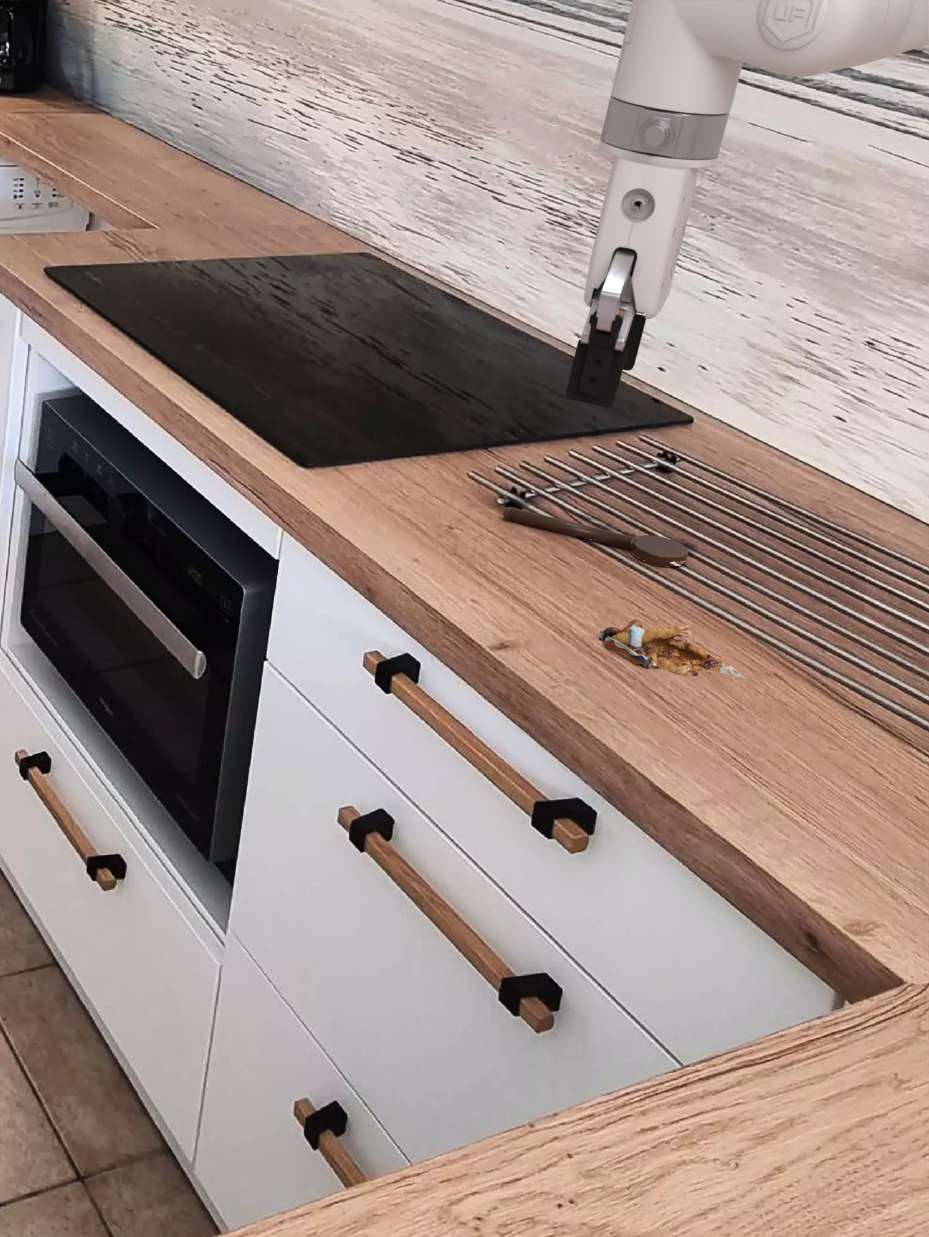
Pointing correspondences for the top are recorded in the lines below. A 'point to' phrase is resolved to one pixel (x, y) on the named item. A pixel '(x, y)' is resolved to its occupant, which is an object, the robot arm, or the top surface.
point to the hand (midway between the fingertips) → (599, 383)
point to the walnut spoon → (606, 537)
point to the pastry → (662, 649)
